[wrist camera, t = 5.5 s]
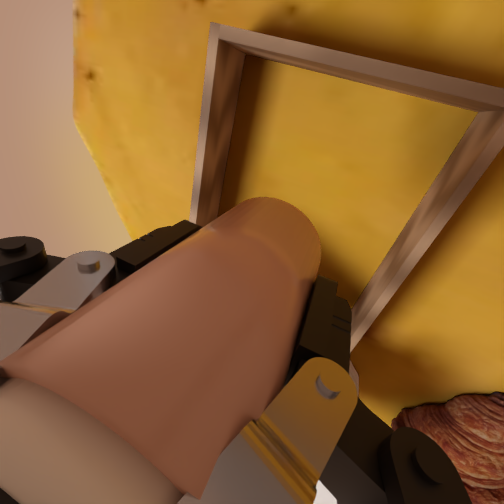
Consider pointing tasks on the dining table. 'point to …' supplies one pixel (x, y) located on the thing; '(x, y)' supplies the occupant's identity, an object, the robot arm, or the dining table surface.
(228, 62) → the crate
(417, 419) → the pastry
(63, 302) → the robot arm
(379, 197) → the dining table surface
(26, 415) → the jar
